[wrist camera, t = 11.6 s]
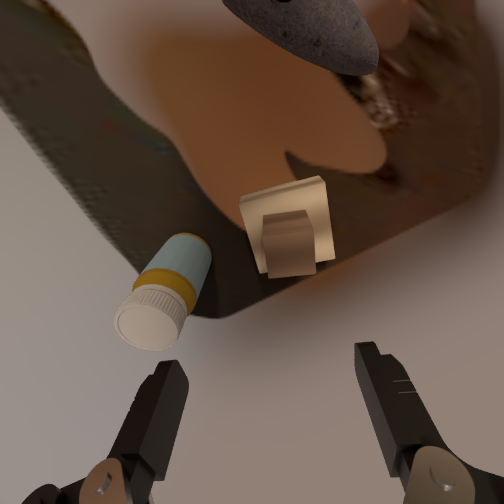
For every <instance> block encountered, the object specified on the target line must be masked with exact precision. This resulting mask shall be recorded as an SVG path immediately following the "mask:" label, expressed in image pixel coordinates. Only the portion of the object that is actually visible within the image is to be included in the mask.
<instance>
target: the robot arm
mask: <svg viewBox="0 0 504 504" xmlns="http://www.w3.org/2000/svg"><path fill="white" fill-rule="evenodd" d="M355 371H356V376H357V379H358V382H359V386H360V388H361V391H362V394H363V397H364V400H365V403H366V406H367V409H368V412H369V415H370V418H371V421H372V424H373V427H374V430H375V433H376V436H377V438H378V442H379V444H380V447H381V450H382V453H383V456H384V459H385V462H386V465H387V468H388V471H389V474H390V477H400V480H401V483H402V485H403V488H404V491H405V497H404V501H403V504H504V477H501V476H498V475H495V474H491V473H488V472H485V471H482V470H479V469H477V468H474V467H472V466H470V465H468V464H467V463H465V462H464V461H462V460H461V459H460V458H458V457H457V456H456V455H455V454H454V453H453V452H452V451H451V450H450V449H449V448H448V447H447V445H446V444H445V443H444V441H443V440H442V438H441V436H440V434H439V432H438V430H437V429H436V427H435V425H434V423H433V421H432V420H431V417H430V416H429V414H428V412H427V410H426V408H425V406H424V404H423V402H422V400H421V399H420V397H419V395H418V393H417V392H416V389H415V388H414V385H413V384H412V382H411V381H410V378H409V376H408V374H407V372H406V371H405V369H404V367H403V365H402V364H401V363H400V362H399V361H398V360H397V359H396V358H395V357H393V356H392V355H391V354H387V355H381V354H380V352H379V350H378V348H377V346H376V344H375V343H374V342H373V341H372V342H361V343H355ZM188 390H189V382H188V379H187V376H186V375H185V373H184V371H183V369H182V367H181V365H180V364H179V362H178V360H168V361H161V362H159V363H158V365H157V367H156V369H155V372H154V374H153V375H149V376H148V377H147V378H146V379H145V381H144V382H143V383H142V384H141V386H140V388H139V390H138V392H137V394H136V396H135V400H134V401H133V403H132V405H131V407H130V411H129V412H128V414H127V416H126V418H125V420H124V423H123V425H122V427H121V429H120V431H119V433H118V436H117V438H116V440H115V442H114V445H113V447H112V449H111V451H110V453H109V455H108V456H107V458H106V459H105V460H103V461H101V462H100V463H99V464H97V465H96V466H95V467H94V468H93V469H92V470H91V472H90V473H89V474H88V476H87V477H85V478H83V479H81V480H79V481H77V482H74V483H72V484H70V485H68V486H65V487H63V488H61V489H59V488H57V487H56V486H55V485H53V484H46V485H43V486H41V487H39V488H38V489H36V490H35V491H34V492H32V493H31V494H30V495H29V496H28V497H27V498H26V499H25V500H24V501H23V502H22V504H154V502H153V498H152V494H151V488H152V485H153V481H164V479H165V475H166V471H167V467H168V464H169V460H170V456H171V453H172V450H173V446H174V442H175V438H176V435H177V431H178V428H179V424H180V420H181V417H182V413H183V410H184V406H185V402H186V399H187V395H188Z"/></svg>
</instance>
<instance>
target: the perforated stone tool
mask: <svg viewBox="0 0 504 504" xmlns="http://www.w3.org/2000/svg"><path fill="white" fill-rule="evenodd" d="M222 1H223V3H224V5H225V6H226V7H227V8H228V9H229V10H230V11H231V12H232V13H234V14H235V15H236V16H237V17H238V18H240V19H241V20H242V21H243V22H245V23H246V24H248V25H249V26H250V27H252V28H253V29H254V30H256V31H257V32H258V33H260V34H262V35H263V36H264V37H266V38H267V39H269V40H270V41H272V42H273V43H275V44H276V45H278V46H280V47H281V48H283V49H285V50H287V51H289V52H290V53H292V54H294V55H296V56H298V57H300V58H302V59H304V60H306V61H309V62H311V63H313V64H316V65H318V66H320V67H323V68H325V69H327V70H330V71H333V72H336V73H340V74H346V75H354V76H362V75H368V74H372V73H373V72H374V71H375V70H376V68H377V64H378V58H379V49H378V45H377V43H376V40H375V38H374V36H373V34H372V32H371V30H370V28H369V27H368V26H367V22H366V20H365V18H364V16H363V14H362V12H361V11H360V10H359V8H358V7H357V6H356V5H355V3H354V2H353V1H352V0H222Z"/></svg>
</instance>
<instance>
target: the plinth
mask: <svg viewBox="0 0 504 504" xmlns="http://www.w3.org/2000/svg"><path fill="white" fill-rule="evenodd" d="M239 208H240V211H241V214H242V218H243V221H244V224H245V227H246V231H247V234H248V237H249V240H250V243H251V247H252V250H253V253H254V256H255V260H256V263H257V266H258V269H259V273H260V274H261V273H266V272H268V271H267V265H266V259H265V252H264V246H263V240H262V227H263V215H268V214H276V213H283V212H291V211H298V210H306V212H307V214H308V217H309V219H310V222H311V224H312V227H313V229H314V240H315V261H316V262H321V261H326V260H331V259H335V253H334V246H333V238H332V231H331V223H330V216H329V209H328V201H327V194H326V186H325V182H324V181H323V180H322V178H321V177H320V176H315V177H311V178H307V179H304V180H300V181H293V182H289V183H285V184H281V185H277V186H274V187H270V188H266V189H262V190H258V191H254V192H250V193H247V194H243V195H241V198H240V201H239Z"/></svg>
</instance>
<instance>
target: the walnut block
mask: <svg viewBox="0 0 504 504" xmlns="http://www.w3.org/2000/svg"><path fill="white" fill-rule="evenodd" d="M262 240H263V246H264V252H265V259H266V265H267V271H268V278H269V279H270V278H280V277H290V276H299V275H309V274H316V261H315V240H314V229H313V227H312V224H311V222H310V219H309V217H308V214H307V212H306V210H298V211H291V212H283V213H276V214H268V215H263V227H262Z"/></svg>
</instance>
